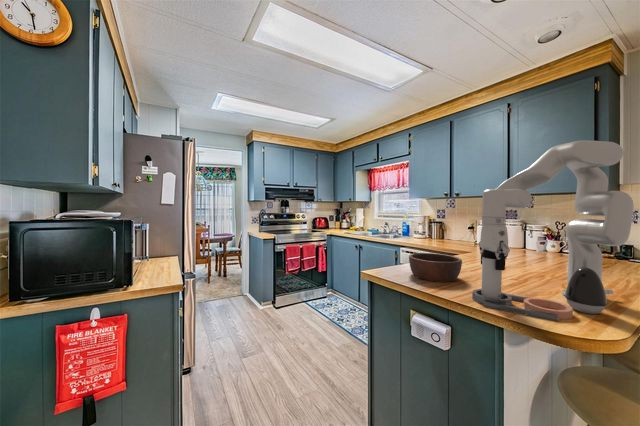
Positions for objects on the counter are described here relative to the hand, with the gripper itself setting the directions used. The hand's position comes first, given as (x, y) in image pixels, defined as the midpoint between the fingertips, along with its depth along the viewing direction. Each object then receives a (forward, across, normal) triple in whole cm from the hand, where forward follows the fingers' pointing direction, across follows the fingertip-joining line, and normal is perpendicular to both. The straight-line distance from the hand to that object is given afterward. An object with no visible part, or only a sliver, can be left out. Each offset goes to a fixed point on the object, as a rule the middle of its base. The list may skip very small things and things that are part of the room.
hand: (492, 267), depth 99 cm
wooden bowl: (+13, +34, +8) cm, 37 cm away
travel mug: (+13, 0, 0) cm, 13 cm away
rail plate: (+13, -3, -5) cm, 14 cm away
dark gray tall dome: (+13, -8, -27) cm, 31 cm away
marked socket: (+13, -9, -13) cm, 21 cm away
